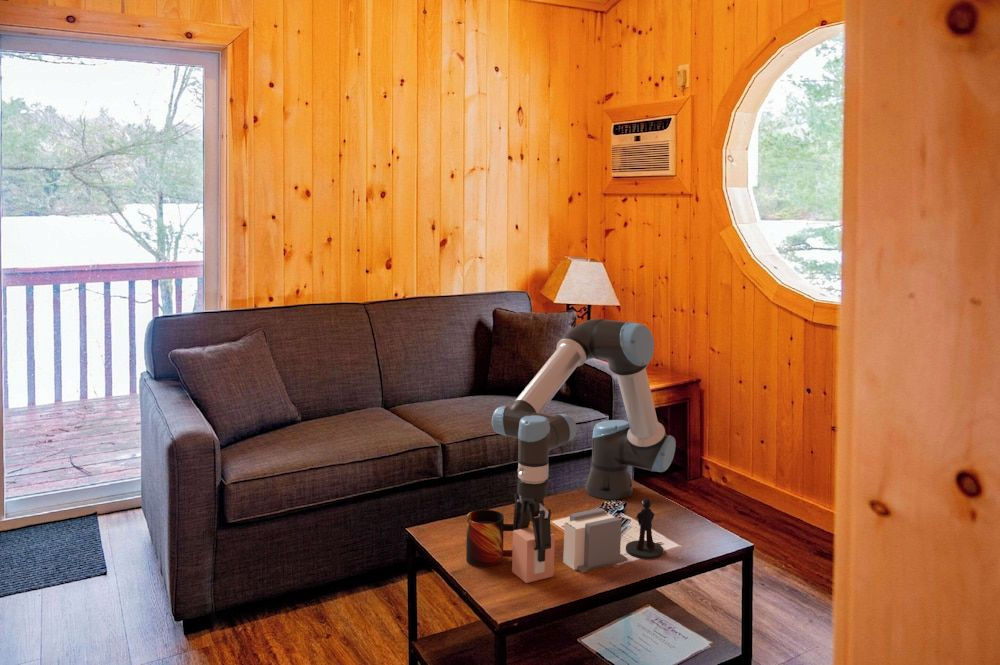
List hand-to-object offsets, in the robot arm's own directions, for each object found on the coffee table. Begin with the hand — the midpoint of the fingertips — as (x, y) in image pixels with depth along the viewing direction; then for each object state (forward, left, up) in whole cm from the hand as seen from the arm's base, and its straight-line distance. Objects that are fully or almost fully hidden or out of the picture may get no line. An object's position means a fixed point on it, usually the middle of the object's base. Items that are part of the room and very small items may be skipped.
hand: (530, 566), depth 210 cm
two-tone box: (-18, 0, -3) cm, 19 cm away
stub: (-1, 0, -2) cm, 2 cm away
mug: (+4, -13, -3) cm, 14 cm away
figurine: (-35, +2, -3) cm, 35 cm away
